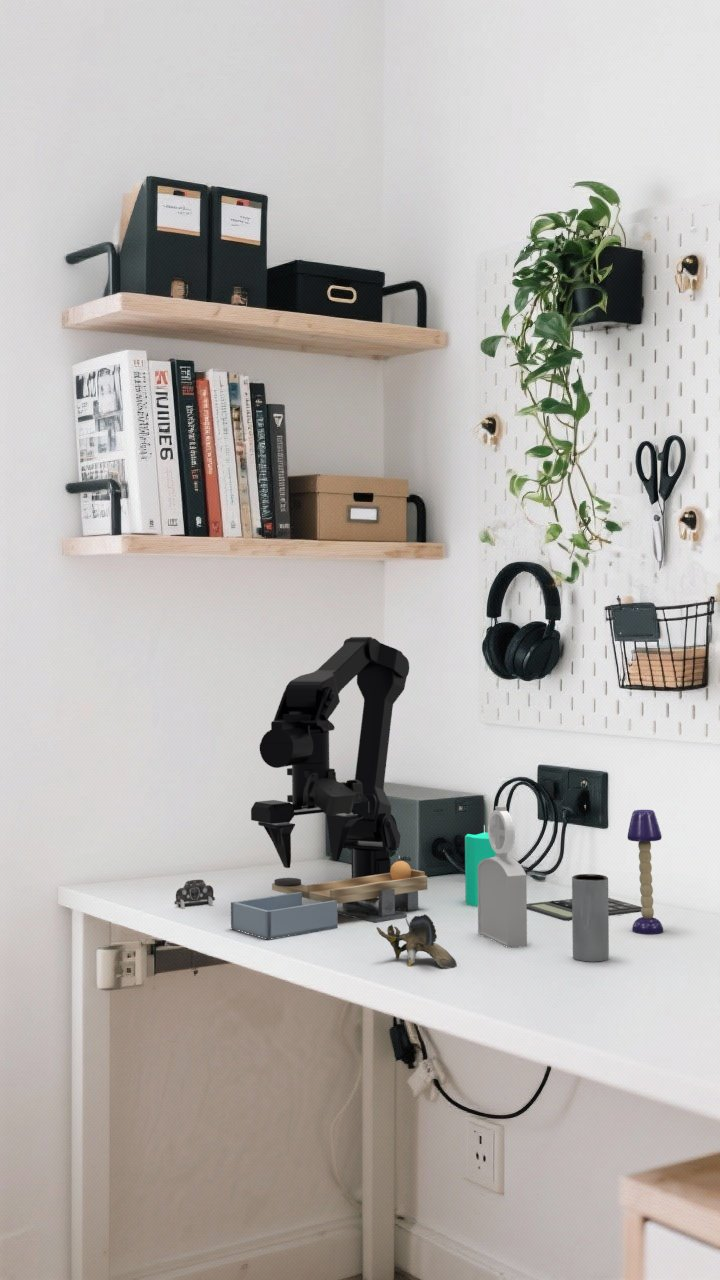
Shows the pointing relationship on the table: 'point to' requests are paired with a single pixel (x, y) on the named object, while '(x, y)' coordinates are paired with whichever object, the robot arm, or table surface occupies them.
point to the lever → (352, 887)
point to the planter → (590, 917)
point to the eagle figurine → (419, 941)
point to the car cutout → (194, 894)
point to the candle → (475, 863)
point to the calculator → (564, 908)
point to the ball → (400, 870)
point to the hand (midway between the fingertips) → (311, 864)
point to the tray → (282, 916)
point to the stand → (381, 906)
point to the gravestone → (502, 886)
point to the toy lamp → (645, 867)
